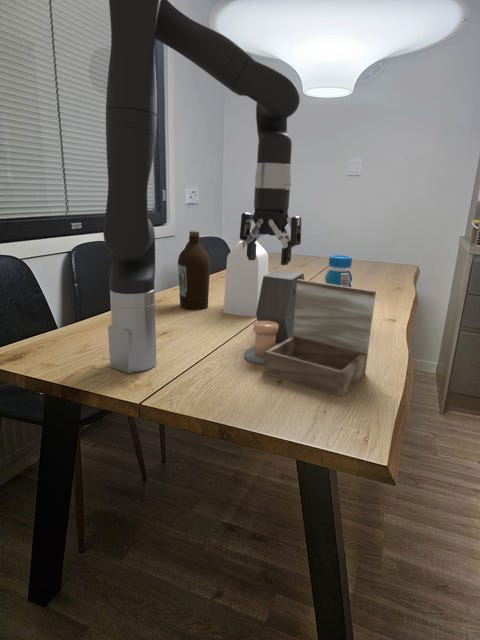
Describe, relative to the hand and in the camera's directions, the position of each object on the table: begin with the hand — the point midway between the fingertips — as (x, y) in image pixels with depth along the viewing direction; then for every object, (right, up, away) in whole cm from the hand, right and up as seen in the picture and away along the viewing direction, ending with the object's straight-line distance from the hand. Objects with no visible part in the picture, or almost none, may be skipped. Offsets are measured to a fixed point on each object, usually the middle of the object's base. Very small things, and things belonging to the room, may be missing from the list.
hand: (267, 262), depth 95 cm
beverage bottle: (+24, -13, +40) cm, 48 cm away
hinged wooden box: (+10, -25, -2) cm, 27 cm away
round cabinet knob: (0, -21, +6) cm, 22 cm away
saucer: (-1, -22, +7) cm, 23 cm away
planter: (+5, -18, +22) cm, 28 cm away
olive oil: (-22, -9, +48) cm, 54 cm away
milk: (-4, -10, +46) cm, 47 cm away
